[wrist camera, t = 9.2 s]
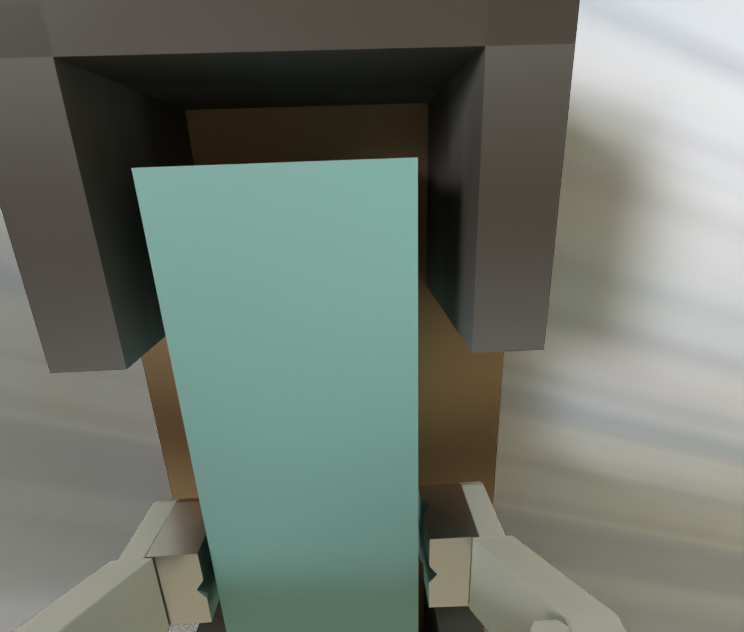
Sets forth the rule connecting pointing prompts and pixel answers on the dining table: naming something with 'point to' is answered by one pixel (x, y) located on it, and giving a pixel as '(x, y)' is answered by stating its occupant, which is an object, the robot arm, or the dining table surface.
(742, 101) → the dining table surface
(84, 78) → the sharpening stone holder
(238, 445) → the slat
